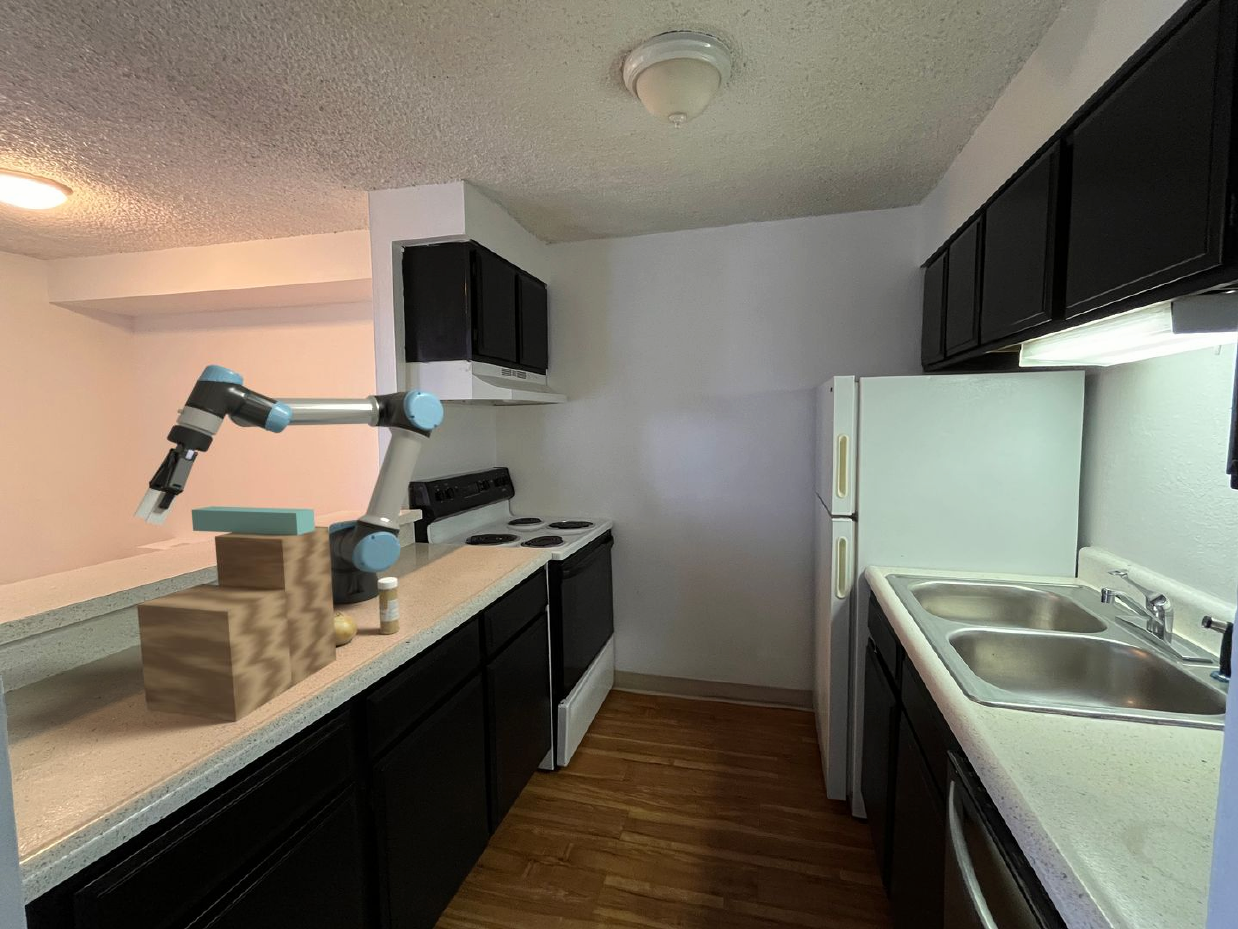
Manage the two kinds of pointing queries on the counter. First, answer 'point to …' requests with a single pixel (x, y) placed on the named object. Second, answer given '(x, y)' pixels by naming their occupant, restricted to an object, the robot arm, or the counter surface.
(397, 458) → the robot arm
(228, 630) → the wooden step block
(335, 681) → the counter surface
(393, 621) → the sprinkles bottle
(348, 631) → the onion
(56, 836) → the counter surface
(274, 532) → the slim box
